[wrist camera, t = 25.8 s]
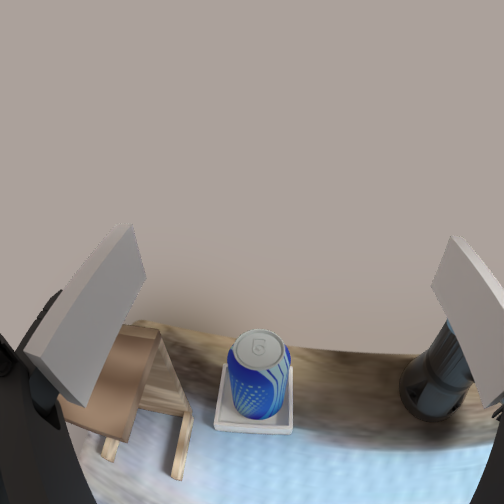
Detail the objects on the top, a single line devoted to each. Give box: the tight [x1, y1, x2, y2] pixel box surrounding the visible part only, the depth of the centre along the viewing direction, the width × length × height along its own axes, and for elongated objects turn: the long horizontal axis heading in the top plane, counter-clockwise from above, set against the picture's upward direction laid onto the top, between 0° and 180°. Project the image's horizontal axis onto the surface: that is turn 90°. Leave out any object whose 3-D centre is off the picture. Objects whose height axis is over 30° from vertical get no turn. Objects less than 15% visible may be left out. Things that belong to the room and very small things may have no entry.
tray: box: [214, 364, 293, 435], centre depth 43 cm, size 12×12×3 cm
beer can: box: [227, 329, 291, 420], centre depth 39 cm, size 8×8×16 cm
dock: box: [57, 324, 194, 481], centre depth 31 cm, size 14×13×22 cm
